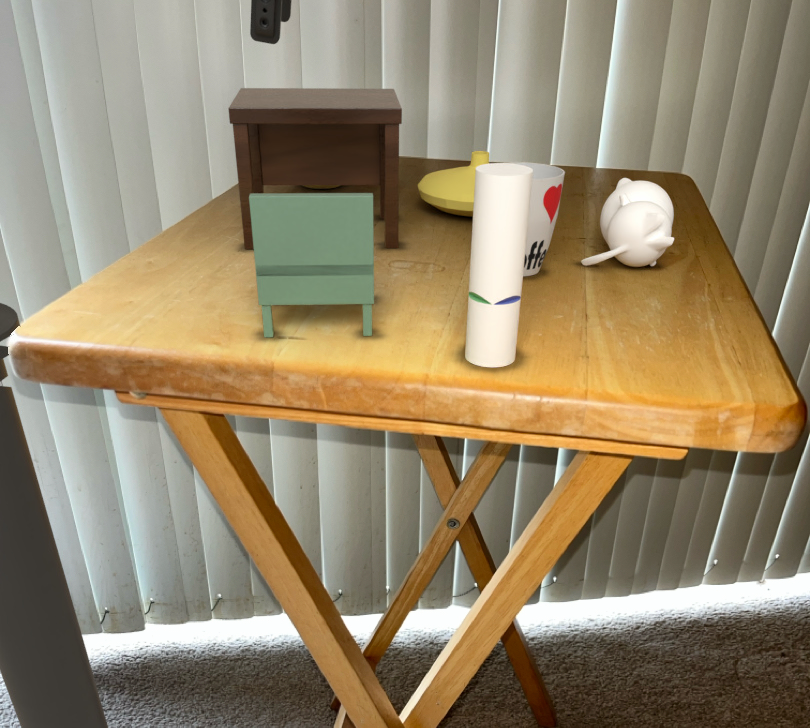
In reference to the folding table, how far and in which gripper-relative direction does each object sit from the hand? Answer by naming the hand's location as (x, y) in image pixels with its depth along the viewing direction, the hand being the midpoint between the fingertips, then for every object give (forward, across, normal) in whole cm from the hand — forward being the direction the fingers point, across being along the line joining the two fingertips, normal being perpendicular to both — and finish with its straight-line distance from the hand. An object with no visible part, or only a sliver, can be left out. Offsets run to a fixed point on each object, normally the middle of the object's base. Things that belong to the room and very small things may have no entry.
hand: (271, 30), depth 68 cm
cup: (+20, -10, +26) cm, 35 cm away
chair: (+22, +5, +6) cm, 23 cm away
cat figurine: (+19, -13, +39) cm, 45 cm away
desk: (+25, -23, +5) cm, 34 cm away
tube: (+19, +14, +21) cm, 32 cm away
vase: (+23, -33, +24) cm, 47 cm away
